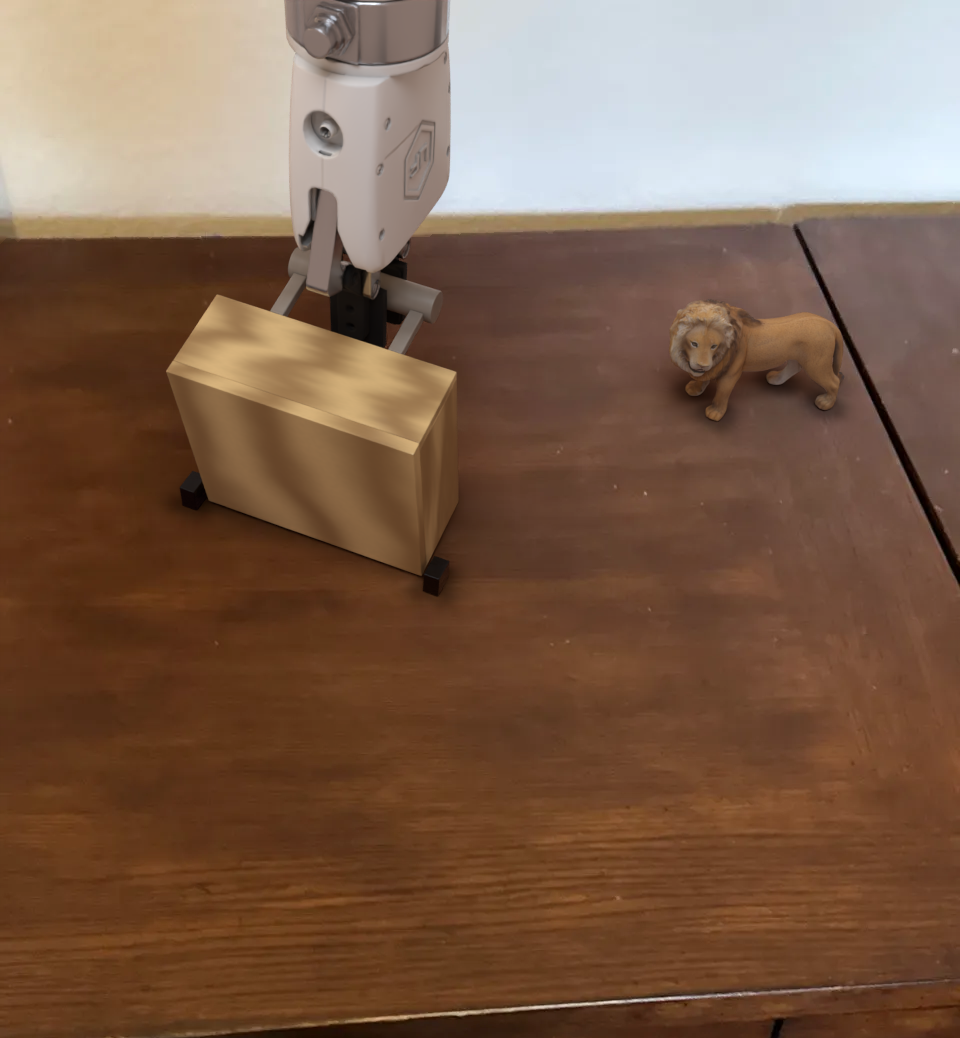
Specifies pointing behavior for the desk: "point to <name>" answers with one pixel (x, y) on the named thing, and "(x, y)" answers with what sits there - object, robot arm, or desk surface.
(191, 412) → the wooden box
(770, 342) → the lion figurine
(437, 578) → the stand
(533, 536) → the desk surface
